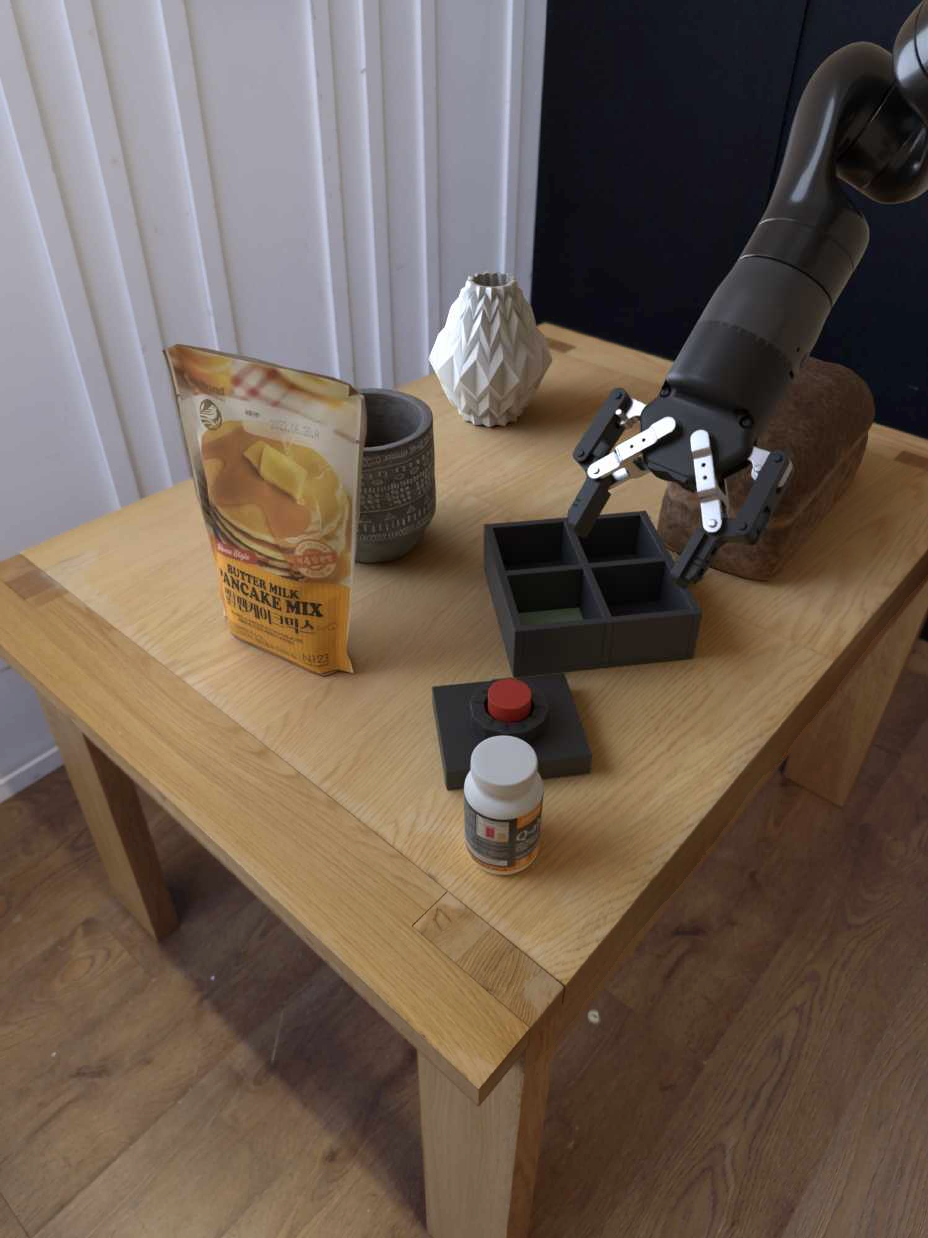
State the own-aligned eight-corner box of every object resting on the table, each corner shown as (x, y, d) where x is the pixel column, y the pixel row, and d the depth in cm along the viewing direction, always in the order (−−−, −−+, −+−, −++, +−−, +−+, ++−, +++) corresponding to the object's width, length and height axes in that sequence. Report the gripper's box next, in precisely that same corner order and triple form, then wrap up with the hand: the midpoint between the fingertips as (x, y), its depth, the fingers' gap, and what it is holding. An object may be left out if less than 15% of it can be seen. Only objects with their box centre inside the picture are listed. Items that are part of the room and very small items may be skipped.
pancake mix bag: (244, 589, 93) (189, 327, 75) (392, 652, 85) (370, 377, 67) (197, 624, 88) (128, 355, 70) (349, 694, 80) (314, 412, 63)
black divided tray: (639, 553, 97) (645, 510, 94) (693, 658, 84) (703, 613, 80) (483, 567, 95) (483, 524, 92) (513, 677, 82) (514, 631, 78)
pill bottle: (532, 885, 65) (538, 799, 59) (456, 870, 66) (454, 783, 60) (544, 823, 69) (551, 737, 63) (473, 810, 70) (473, 723, 64)
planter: (462, 533, 100) (462, 412, 91) (376, 592, 92) (365, 466, 82) (372, 491, 107) (363, 375, 98) (284, 543, 99) (264, 422, 89)
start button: (526, 691, 76) (526, 676, 74) (534, 721, 73) (535, 706, 72) (484, 695, 75) (484, 680, 74) (491, 726, 72) (491, 711, 71)
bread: (866, 470, 110) (906, 348, 100) (765, 597, 91) (801, 461, 81) (755, 437, 117) (782, 319, 107) (639, 548, 98) (658, 417, 88)
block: (562, 690, 81) (565, 657, 78) (590, 773, 73) (594, 740, 71) (432, 703, 79) (431, 671, 77) (446, 790, 72) (445, 757, 69)
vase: (408, 420, 122) (401, 284, 110) (478, 378, 132) (479, 250, 120) (504, 454, 114) (508, 312, 102) (571, 408, 124) (581, 274, 112)
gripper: (641, 291, 60) (522, 500, 61) (838, 352, 52) (697, 590, 53) (674, 344, 66) (565, 533, 67) (854, 405, 59) (728, 617, 60)
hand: (624, 558), depth 60 cm, fingers open, 8 cm apart
